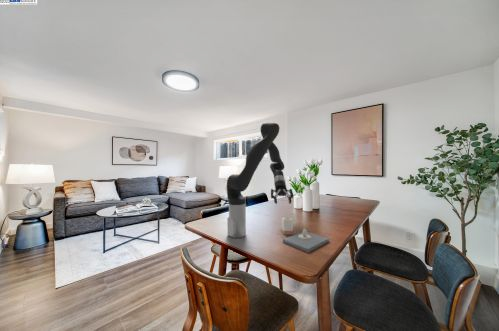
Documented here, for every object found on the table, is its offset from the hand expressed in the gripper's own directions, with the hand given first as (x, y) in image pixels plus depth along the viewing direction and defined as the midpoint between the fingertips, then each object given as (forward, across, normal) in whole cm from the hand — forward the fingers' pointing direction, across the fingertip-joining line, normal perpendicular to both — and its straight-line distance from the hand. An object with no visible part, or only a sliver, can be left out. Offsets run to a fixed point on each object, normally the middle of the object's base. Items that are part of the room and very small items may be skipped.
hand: (283, 203), depth 113 cm
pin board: (+27, +6, -7) cm, 29 cm away
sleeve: (+18, 0, +2) cm, 18 cm away
